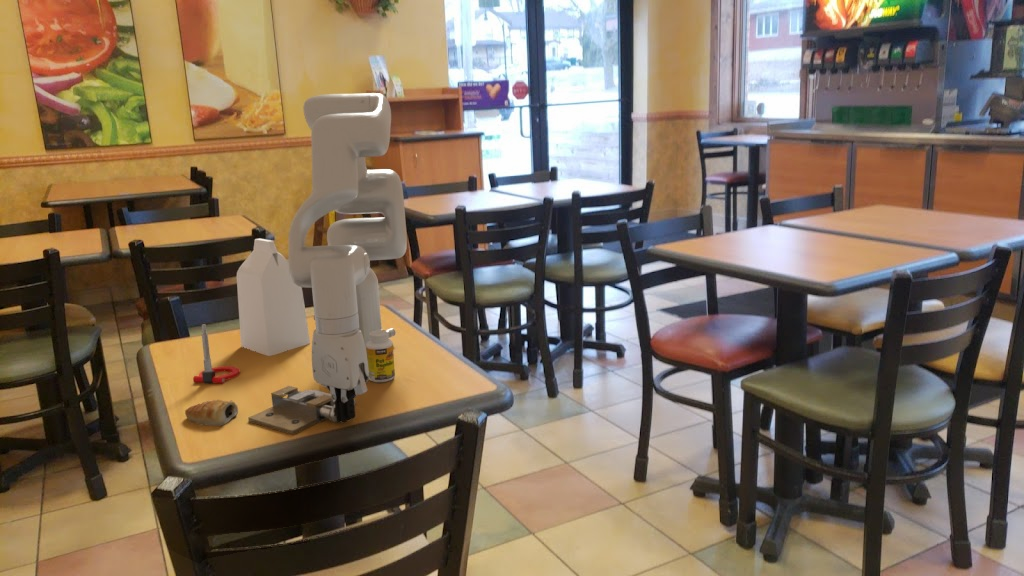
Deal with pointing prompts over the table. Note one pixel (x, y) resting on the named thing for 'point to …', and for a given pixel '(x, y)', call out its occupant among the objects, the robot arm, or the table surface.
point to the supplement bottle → (380, 356)
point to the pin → (325, 411)
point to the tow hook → (209, 372)
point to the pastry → (212, 412)
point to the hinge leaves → (293, 410)
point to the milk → (270, 303)
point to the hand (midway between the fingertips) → (346, 419)
